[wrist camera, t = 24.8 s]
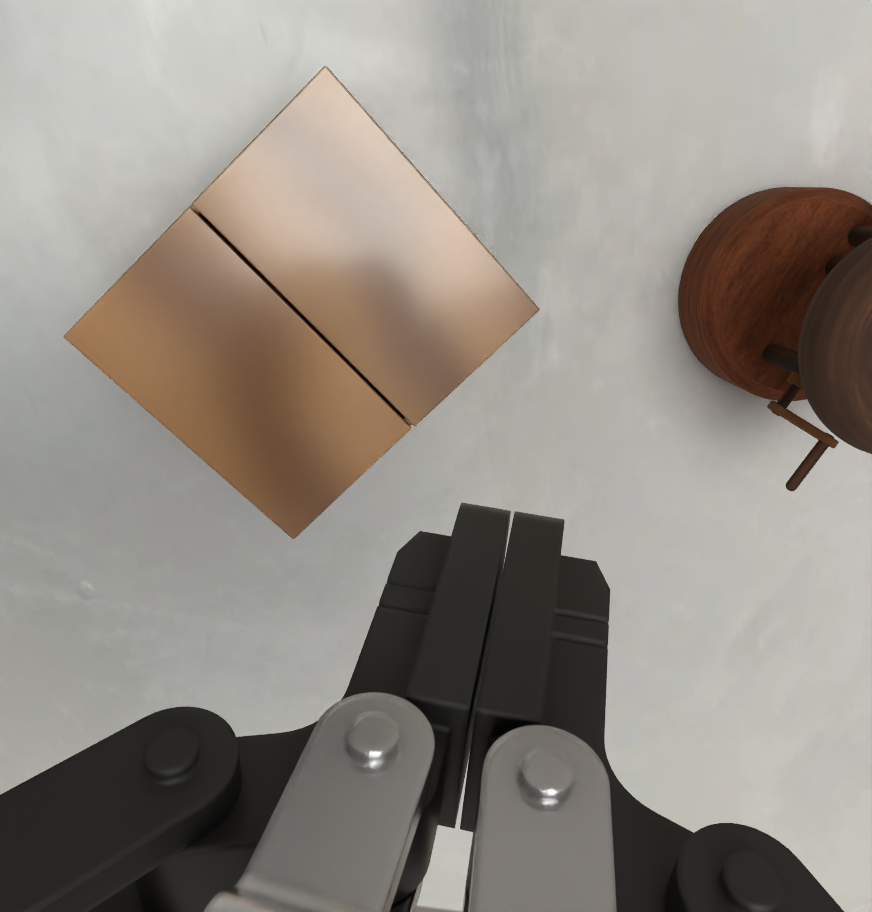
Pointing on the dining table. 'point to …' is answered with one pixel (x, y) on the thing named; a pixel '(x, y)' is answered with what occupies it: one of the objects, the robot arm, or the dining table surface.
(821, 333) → the music box
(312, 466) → the flap
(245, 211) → the carton
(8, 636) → the dining table surface
